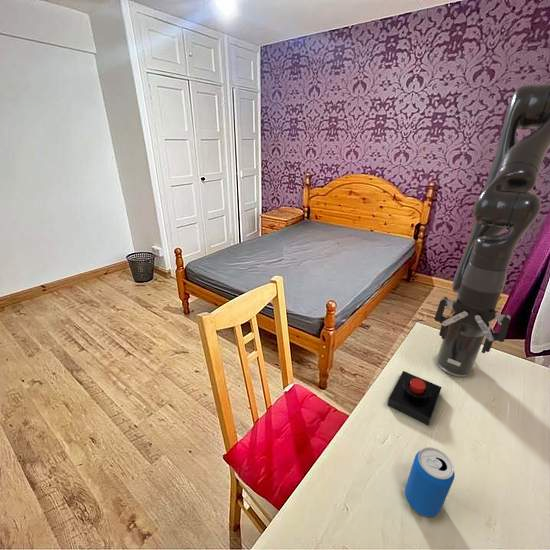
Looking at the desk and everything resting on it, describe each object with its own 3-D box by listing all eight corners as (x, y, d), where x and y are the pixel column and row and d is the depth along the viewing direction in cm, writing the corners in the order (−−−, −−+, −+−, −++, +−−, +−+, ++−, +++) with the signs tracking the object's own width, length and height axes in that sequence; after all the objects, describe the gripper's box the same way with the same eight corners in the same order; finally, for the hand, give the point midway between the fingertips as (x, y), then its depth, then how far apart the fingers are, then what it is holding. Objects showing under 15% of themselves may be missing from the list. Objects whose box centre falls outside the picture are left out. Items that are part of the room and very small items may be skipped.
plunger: (407, 389, 79) (408, 384, 78) (411, 381, 81) (412, 376, 80) (422, 396, 77) (423, 391, 76) (425, 387, 79) (427, 382, 78)
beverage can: (444, 523, 56) (461, 485, 51) (407, 515, 57) (420, 477, 52) (435, 486, 62) (450, 448, 56) (401, 479, 63) (412, 442, 57)
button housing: (387, 405, 79) (389, 393, 77) (401, 377, 88) (404, 365, 86) (428, 426, 74) (432, 413, 72) (439, 394, 82) (443, 381, 80)
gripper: (522, 287, 66) (499, 348, 72) (449, 270, 74) (435, 327, 81) (520, 300, 60) (495, 365, 67) (442, 280, 69) (427, 340, 75)
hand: (462, 344), depth 74 cm, fingers open, 8 cm apart
